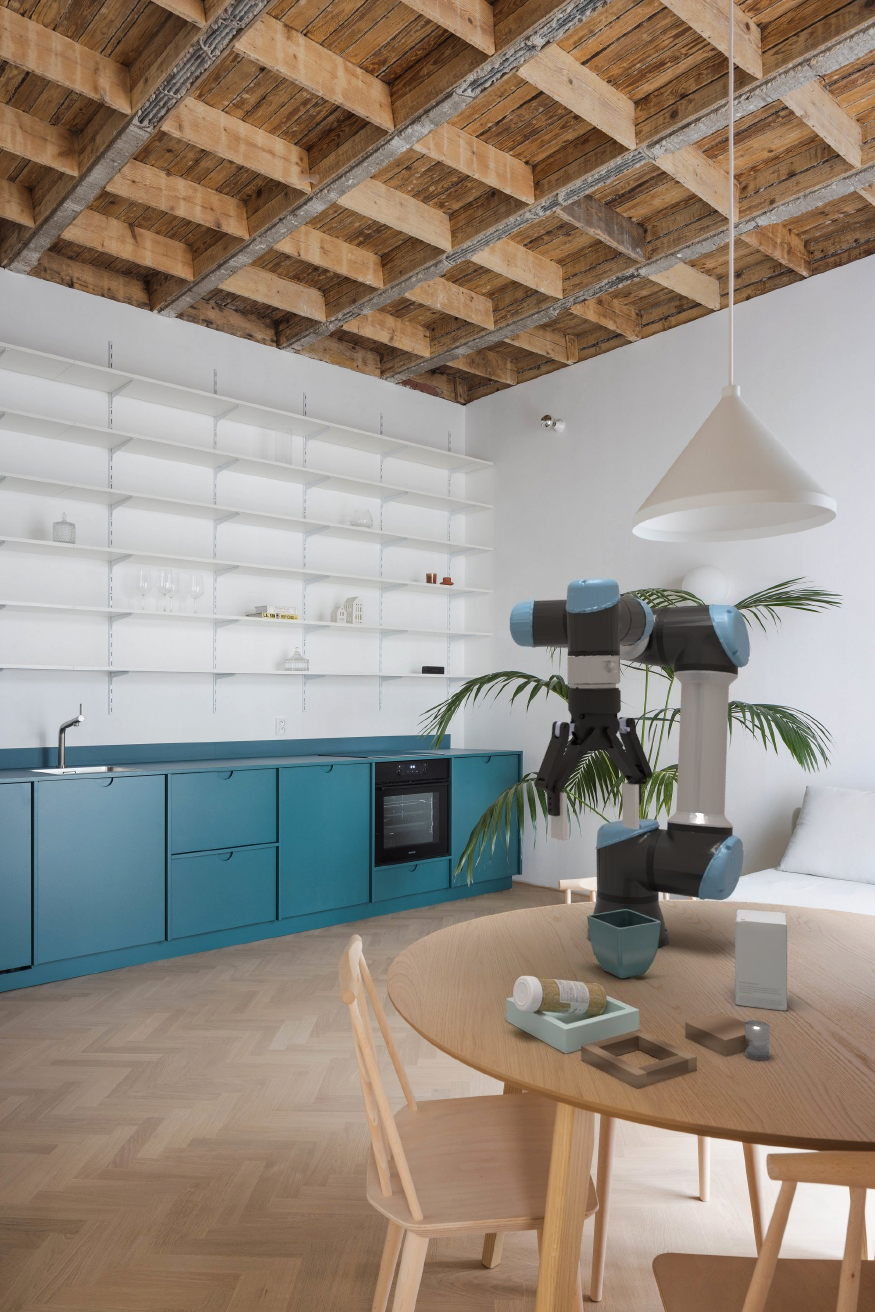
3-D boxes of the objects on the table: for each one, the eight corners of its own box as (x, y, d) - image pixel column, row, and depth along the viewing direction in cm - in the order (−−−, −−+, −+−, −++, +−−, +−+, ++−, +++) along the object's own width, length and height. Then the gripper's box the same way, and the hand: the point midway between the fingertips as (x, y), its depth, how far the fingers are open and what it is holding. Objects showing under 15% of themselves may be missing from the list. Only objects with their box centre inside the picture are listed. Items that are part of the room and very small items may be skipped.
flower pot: (619, 985, 142) (619, 928, 142) (585, 969, 150) (585, 915, 150) (662, 977, 146) (662, 921, 147) (627, 961, 154) (627, 908, 154)
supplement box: (788, 1012, 131) (787, 924, 131) (734, 1005, 134) (733, 920, 134) (787, 995, 138) (786, 912, 138) (736, 989, 141) (735, 907, 141)
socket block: (581, 1060, 115) (581, 1045, 115) (639, 1043, 120) (638, 1029, 120) (637, 1091, 106) (637, 1075, 106) (696, 1071, 112) (696, 1056, 112)
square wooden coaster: (685, 1041, 122) (685, 1022, 122) (721, 1030, 125) (721, 1012, 125) (725, 1060, 116) (725, 1040, 116) (762, 1048, 119) (762, 1029, 119)
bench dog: (740, 1054, 116) (739, 1023, 117) (755, 1049, 118) (755, 1018, 118) (759, 1063, 114) (759, 1031, 114) (774, 1058, 115) (774, 1026, 116)
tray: (506, 1020, 128) (506, 998, 128) (576, 1003, 135) (576, 982, 135) (565, 1053, 117) (565, 1029, 117) (639, 1032, 124) (639, 1010, 124)
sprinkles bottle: (589, 1019, 129) (512, 1014, 123) (585, 985, 131) (510, 978, 125) (610, 1014, 125) (532, 1008, 119) (606, 979, 128) (530, 972, 121)
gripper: (541, 689, 121) (543, 848, 121) (675, 684, 134) (677, 827, 134) (508, 688, 127) (510, 839, 127) (639, 683, 140) (641, 819, 140)
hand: (596, 833), depth 131 cm, fingers open, 13 cm apart
